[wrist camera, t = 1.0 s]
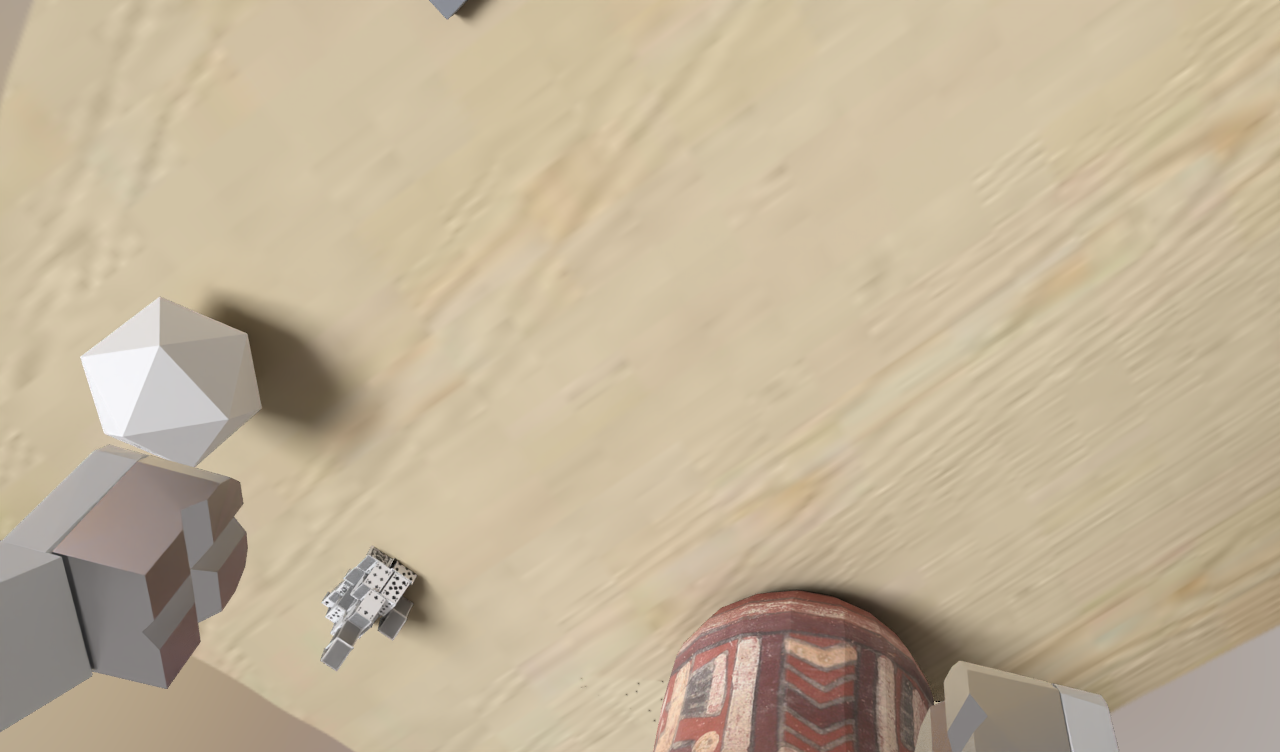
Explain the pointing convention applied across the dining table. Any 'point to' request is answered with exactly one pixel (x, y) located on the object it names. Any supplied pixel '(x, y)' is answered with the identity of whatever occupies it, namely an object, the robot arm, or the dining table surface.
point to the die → (173, 382)
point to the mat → (448, 6)
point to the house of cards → (366, 604)
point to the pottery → (793, 681)
